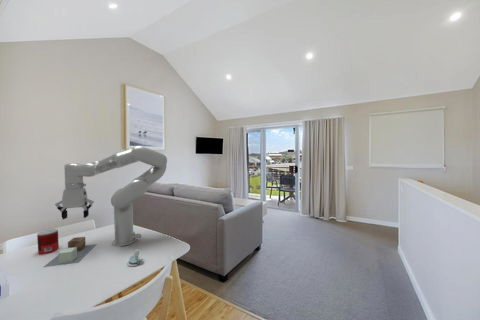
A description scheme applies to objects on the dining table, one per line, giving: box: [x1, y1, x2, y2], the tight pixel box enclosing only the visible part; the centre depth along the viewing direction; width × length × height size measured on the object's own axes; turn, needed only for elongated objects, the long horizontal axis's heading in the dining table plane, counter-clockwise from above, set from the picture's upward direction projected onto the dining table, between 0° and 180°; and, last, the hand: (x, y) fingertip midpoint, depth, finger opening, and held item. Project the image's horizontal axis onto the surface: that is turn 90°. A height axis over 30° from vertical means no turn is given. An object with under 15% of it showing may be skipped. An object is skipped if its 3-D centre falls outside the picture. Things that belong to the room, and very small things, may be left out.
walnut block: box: [67, 236, 86, 251], centre depth 108 cm, size 6×6×6 cm
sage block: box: [58, 247, 77, 264], centre depth 97 cm, size 5×5×5 cm
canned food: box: [36, 228, 60, 255], centre depth 107 cm, size 8×8×11 cm
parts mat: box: [43, 243, 98, 268], centre depth 103 cm, size 14×20×1 cm
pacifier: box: [126, 249, 144, 267], centre depth 94 cm, size 7×6×6 cm
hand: (75, 217), depth 108 cm, fingers open, 9 cm apart
